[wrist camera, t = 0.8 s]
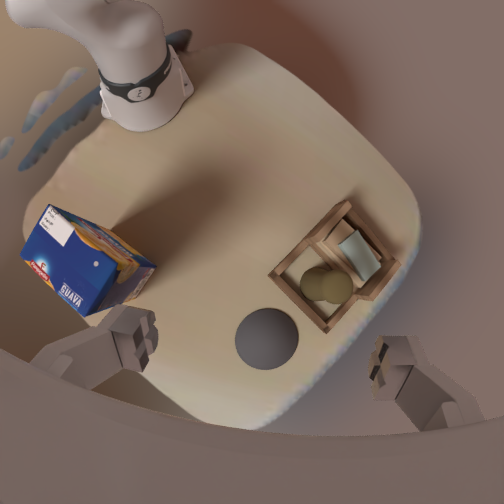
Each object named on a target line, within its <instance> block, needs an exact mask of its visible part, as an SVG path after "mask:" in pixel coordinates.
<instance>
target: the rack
mask: <svg viewBox="0 0 504 504" xmlns="http://www.w3.org/2000/svg"><path fill="white" fill-rule="evenodd" d="M351 207H352V205H351V204H350V203H349V202H348V201H345V200H343V201H342V202H340V203H338V204H336V205H335V206H334V207H333V208H332V209H331V210H330V211H329V212H328V213H327V214H326V215H325V216H324V217H323V219H322V220H321V221H320V222H319V223H318V224H317V225H316V226H315V227H314V228H313V229H312V230H311V231H310V232H309V233H308V234H307V235H306V236H305V237H304V238H303V239H302V241H301V242H300V243H299V244H298V245H297V246H296V247H295V248H294V249H293V250H292V251H291V252H290V253H289V254H288V255H287V256H286V257H285V258H284V259H283V260H282V261H281V262H280V263H279V264H278V265H277V266H276V267H275V268H274V269H273V270H272V271H271V272H270V273H269V274H268V275H267V276H268V277H269V278H270V279H271V280H272V281H273V282H274V283H275V284H276V285H277V286H278V287H279V288H280V289H281V290H282V291H283V292H284V293H285V294H286V295H287V296H288V297H289V298H290V299H291V300H292V301H293V302H294V303H295V304H296V305H297V306H298V307H299V308H300V309H301V310H302V311H303V312H304V313H305V314H306V315H307V316H308V317H309V318H310V319H311V320H312V321H313V322H314V323H315V324H316V325H317V326H318V327H319V328H320V329H321V330H322V331H323V332H324V333H326V334H327V333H328V332H329V331H330V330H331V329H332V328H333V327H334V326H335V324H336V323H337V322H338V321H339V320H340V319H341V318H342V317H343V315H344V314H345V313H346V312H347V311H348V310H349V309H350V307H351V306H352V305H353V304H354V303H355V302H356V300H357V299H362V300H368V301H373V300H374V299H375V298H376V297H377V296H378V294H379V293H380V292H381V291H382V289H383V288H384V287H385V285H386V284H387V283H388V282H389V280H390V279H391V278H392V276H393V275H394V274H395V273H396V271H397V270H398V269H399V267H400V266H401V264H400V262H399V261H398V260H395V259H394V258H393V256H392V255H391V254H390V253H389V251H388V250H387V249H386V248H385V246H384V245H383V244H382V243H381V242H380V240H379V239H378V238H377V237H376V236H375V234H374V233H373V232H372V231H371V230H370V228H369V227H368V226H367V225H366V224H365V223H364V221H363V220H362V219H361V218H360V217H359V216H358V215H357V213H356V212H355V211H354V210H353V209H352V208H351ZM308 245H310V246H311V247H312V248H313V250H314V251H315V252H316V253H317V254H318V255H319V256H320V257H321V258H322V259H323V260H324V261H325V262H326V264H327V265H328V266H329V267H330V268H331V269H332V270H335V269H337V270H343V271H345V272H347V273H348V274H349V275H350V277H351V278H352V280H353V285H354V286H353V292H352V295H351V296H350V298H349V299H348V300H347V301H346V302H344V303H342V304H341V305H340V306H339V307H338V308H337V310H336V311H335V312H334V313H333V314H332V315H331V316H330V317H329V318H328V320H327V321H326V322H324V321H323V320H322V319H321V318H320V317H319V316H318V315H317V314H316V313H315V312H314V311H313V310H312V309H311V308H310V307H309V306H308V305H307V304H306V303H305V302H304V301H303V300H302V299H301V298H300V297H299V296H298V295H297V293H296V292H295V291H294V290H293V289H292V288H291V287H290V286H289V285H288V284H287V283H286V282H285V281H284V280H283V279H282V278H281V277H280V276H279V275H280V274H281V273H282V272H283V271H284V270H285V269H286V268H287V267H288V266H289V265H290V264H291V263H292V262H293V261H294V260H295V259H296V258H297V257H298V255H299V254H300V253H301V252H302V251H303V250H304V249H305V248H306V247H307V246H308Z"/></svg>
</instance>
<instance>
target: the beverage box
mask: <svg viewBox="0 0 504 504" xmlns="http://www.w3.org/2000/svg"><path fill="white" fill-rule="evenodd" d="M20 256H21V257H22V258H23V259H24V260H25V262H26V263H27V264H28V265H30V267H31V268H32V269H33V270H34V271H35V272H36V273H37V274H38V275H39V276H40V277H41V278H42V279H43V280H44V281H45V282H46V283H47V284H48V285H49V286H50V287H51V288H52V289H53V290H55V291H56V292H57V293H58V294H59V295H60V296H61V297H62V298H63V299H64V300H65V301H66V302H67V303H68V304H70V305H71V306H72V307H73V308H74V309H75V310H76V311H77V312H79V313H80V314H81V315H82V316H83V317H86V316H89V315H91V314H94V313H97V312H100V311H103V310H105V309H108V308H111V307H114V306H115V305H116V304H122V303H125V302H127V301H130V300H133V299H135V298H136V297H137V295H138V293H139V292H140V290H141V289H142V287H143V286H144V284H145V283H146V281H147V280H148V278H149V277H150V276H151V274H152V273H153V271H154V270H155V268H156V267H157V266H156V265H154V264H153V263H152V262H150V261H149V260H148V259H146V258H145V257H144V256H143V255H141V254H140V253H139V252H137V251H136V250H135V249H133V248H132V247H131V246H130V245H128V244H127V243H126V242H124V241H123V240H122V239H121V238H119V237H118V236H117V235H116V234H114V233H113V232H112V231H111V230H109V229H106V228H104V227H102V226H99V225H97V224H94V223H92V222H90V221H87V220H85V219H83V218H80V217H78V216H76V215H73V214H71V213H69V212H67V211H64V210H62V209H60V208H57V207H55V206H53V205H51V204H48V206H47V207H46V209H45V211H44V212H43V214H42V216H41V217H40V219H39V221H38V222H37V224H36V226H35V227H34V229H33V231H32V233H31V234H30V236H29V238H28V240H27V242H26V244H25V245H24V247H23V249H22V251H21V253H20Z"/></svg>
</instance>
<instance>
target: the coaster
mask: <svg viewBox="0 0 504 504" xmlns="http://www.w3.org/2000/svg"><path fill="white" fill-rule="evenodd" d="M297 343H298V334H297V329H296V327H295V324H294V323H293V321H292V320H291V319H290V318H289V317H288V316H287V315H286V314H284V313H282V312H280V311H278V310H274V309H262V310H258V311H255V312H253V313H251V314H250V315H248V316H247V317H246V318H245V319H244V320H243V321H242V322H241V324H240V325H239V327H238V329H237V332H236V337H235V344H236V349H237V352H238V354H239V356H240V357H241V359H242V360H243V361H244V362H245V363H246V364H248V365H249V366H251V367H253V368H256V369H261V370H269V369H274V368H277V367H279V366H281V365H283V364H284V363H286V362H287V361H288V360H289V359H290V358H291V357H292V355H293V354H294V352H295V350H296V347H297Z"/></svg>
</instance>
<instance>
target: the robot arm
mask: <svg viewBox="0 0 504 504" xmlns="http://www.w3.org/2000/svg"><path fill="white" fill-rule="evenodd" d="M5 3H6V9H7V12H8V14H9V16H10V18H11V19H12V20H13V21H14V22H15V23H16V24H18V25H19V26H21V27H24V28H45V29H50V30H55V31H57V32H60V33H63V34H66V35H68V36H70V37H72V38H74V39H75V40H77V41H79V42H80V43H81V44H83V45H84V46H85V47H86V48H87V49H88V51H89V52H90V54H91V55H92V57H93V58H94V60H95V62H96V64H97V65H98V71H99V75H100V79H101V81H102V82H101V83H100V87H101V88H102V89H101V91H100V95H101V97H102V99H103V104H102V110H101V113H102V115H103V117H105V118H107V119H112V120H114V121H116V122H117V123H118V124H119V125H121V126H122V127H123V128H125V129H128V130H131V131H149V130H153V129H156V128H158V127H160V126H162V125H164V124H166V123H167V122H168V121H170V120H171V119H172V118H173V117H174V116H175V115H176V114H177V112H178V111H179V109H180V107H181V105H182V103H183V102H184V101H185V100H186V99H187V98H188V97H190V96H191V95H192V94H193V92H194V87H193V85H192V83H191V81H190V79H189V77H188V75H187V73H186V72H185V70H184V68H183V66H182V64H181V62H180V60H179V58H178V56H177V55H176V53H175V51H174V49H173V47H172V46H171V45H168V44H167V43H166V40H165V33H164V26H163V20H162V18H161V16H160V14H159V13H158V12H157V11H156V10H155V9H154V8H153V7H152V6H150V5H149V4H146V3H144V2H140V1H135V0H5ZM184 85H187V86H184ZM155 321H156V318H155V313H154V312H153V311H151V310H146V309H142V308H137V307H132V306H127V305H122V304H116V305H115V306H114V307H113V308H112V310H111V311H110V312H109V313H108V314H107V315H106V316H105V318H104V319H103V320H102V321H101V322H100V323H99V325H98V326H97V327H94V326H93V327H90V328H88V329H85V330H83V331H80V332H78V333H75V334H73V335H71V336H68V337H66V338H63V339H61V340H58V341H56V342H53V343H51V344H48V345H46V346H44V347H43V349H42V350H41V351H40V352H39V353H38V354H37V355H36V356H35V357H34V359H33V360H32V361H31V362H30V363H29V364H28V363H26V362H24V361H23V360H20V359H19V358H17V357H15V356H13V355H11V354H9V353H8V352H5V351H4V350H2V349H0V504H504V416H500V417H497V418H493V419H489V420H484V417H483V414H482V412H481V409H480V407H479V404H478V402H477V400H476V397H474V396H473V395H472V394H471V393H469V392H468V391H467V390H465V389H464V388H463V387H462V386H460V385H459V384H458V383H456V382H455V381H454V380H453V379H451V378H450V377H449V376H447V375H446V374H445V373H444V372H442V371H441V370H440V369H438V368H437V367H436V366H434V365H430V363H429V361H428V359H427V356H426V354H425V352H424V349H423V347H422V345H421V342H420V341H419V338H418V337H417V336H416V335H414V336H382V335H380V336H379V337H378V338H377V340H376V342H375V346H376V350H375V351H374V352H373V353H371V356H370V359H369V365H368V373H369V378H370V379H371V380H372V381H373V383H372V386H371V389H372V394H373V400H395V402H396V404H397V405H398V406H399V407H400V408H401V409H402V411H403V412H404V413H405V414H406V415H407V417H408V418H409V419H410V420H411V421H412V423H413V424H414V425H415V426H416V427H417V428H418V430H419V431H420V432H413V433H403V434H392V435H375V436H311V435H293V434H280V433H270V432H261V431H253V430H246V429H239V428H232V427H226V426H220V425H214V424H209V423H204V422H199V421H194V420H189V419H185V418H180V417H176V416H172V415H168V414H163V413H160V412H156V411H152V410H149V409H145V408H142V407H138V406H135V405H132V404H128V403H125V402H122V401H119V400H116V399H113V398H110V397H107V396H104V395H101V394H99V393H96V392H93V391H90V389H92V388H94V387H95V386H97V385H98V384H100V383H102V382H103V381H105V380H106V379H108V378H109V377H111V376H112V375H114V374H115V373H117V372H118V371H120V370H122V368H126V369H130V370H134V371H138V372H143V371H144V369H145V367H146V365H147V364H148V362H149V358H148V355H150V354H152V353H154V351H155V349H156V347H157V344H158V329H157V328H156V327H155V326H154V325H153V324H154V322H155Z"/></svg>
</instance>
